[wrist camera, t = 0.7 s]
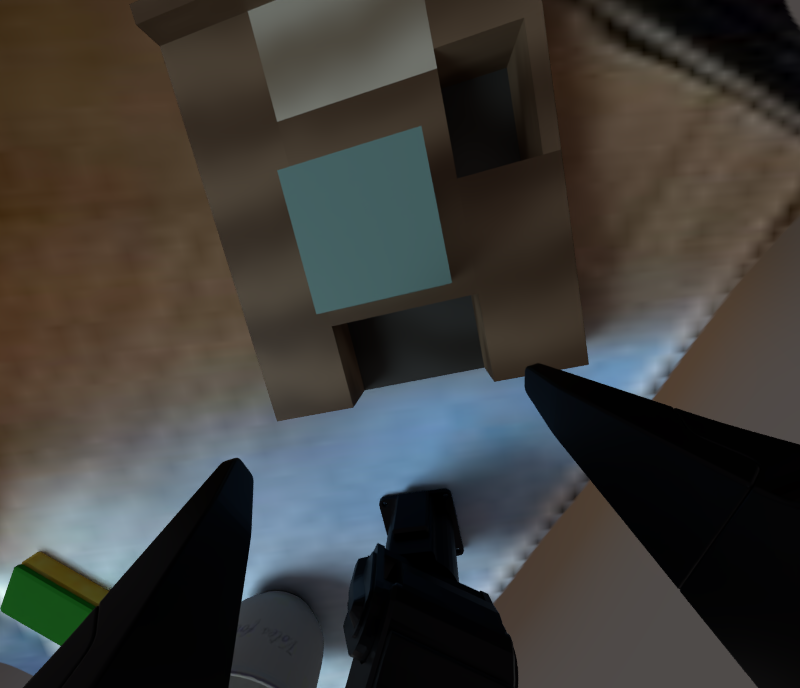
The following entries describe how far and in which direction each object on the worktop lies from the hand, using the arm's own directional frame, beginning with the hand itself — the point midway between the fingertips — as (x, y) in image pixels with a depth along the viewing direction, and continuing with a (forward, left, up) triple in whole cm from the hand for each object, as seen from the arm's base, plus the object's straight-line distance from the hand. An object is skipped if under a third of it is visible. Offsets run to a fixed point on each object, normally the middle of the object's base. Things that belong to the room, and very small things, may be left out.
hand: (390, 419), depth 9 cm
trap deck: (+10, 0, -15) cm, 18 cm away
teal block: (+7, 0, -11) cm, 13 cm away
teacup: (-26, +21, -15) cm, 37 cm away
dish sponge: (-22, +43, -16) cm, 51 cm away
